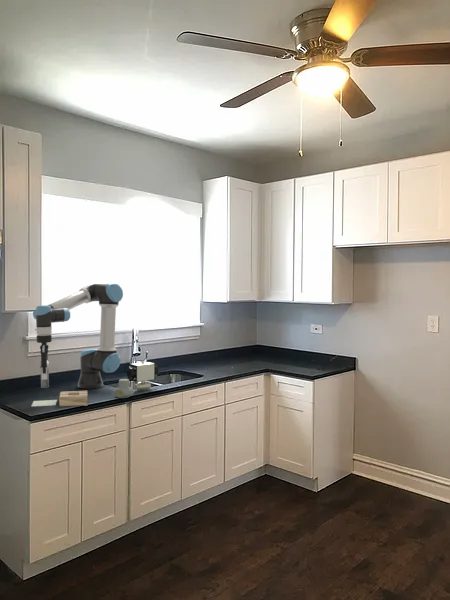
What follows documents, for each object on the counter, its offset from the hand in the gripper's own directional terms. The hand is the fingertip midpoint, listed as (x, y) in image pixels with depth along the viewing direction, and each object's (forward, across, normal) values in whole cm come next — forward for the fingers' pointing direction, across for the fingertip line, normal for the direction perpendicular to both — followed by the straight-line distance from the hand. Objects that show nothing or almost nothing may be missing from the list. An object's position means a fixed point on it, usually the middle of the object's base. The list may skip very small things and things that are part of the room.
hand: (44, 378), depth 266 cm
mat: (+14, 0, 0) cm, 14 cm away
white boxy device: (+15, -22, +54) cm, 60 cm away
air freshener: (+14, -6, +42) cm, 44 cm away
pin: (+5, 0, 0) cm, 5 cm away
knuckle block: (+14, +2, +15) cm, 20 cm away
